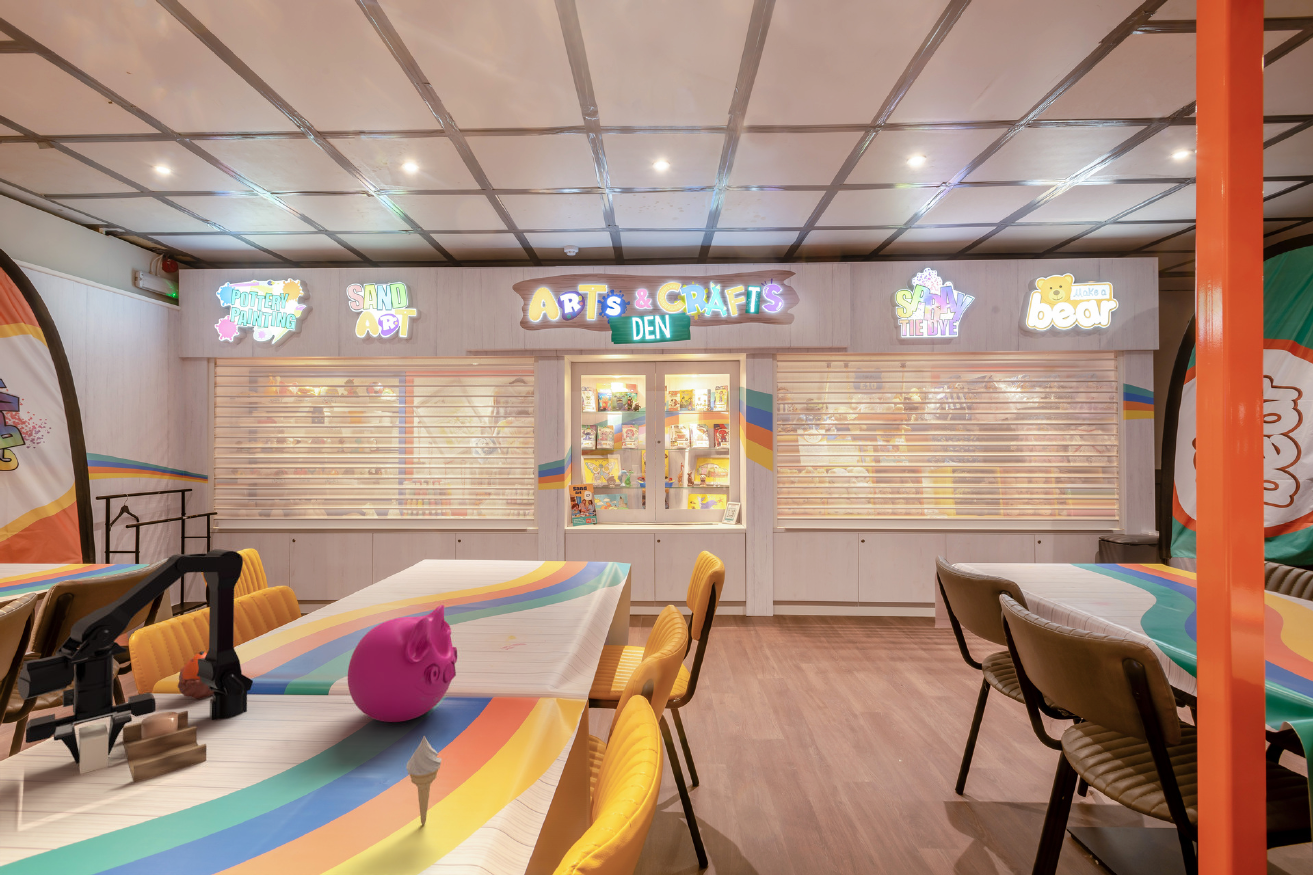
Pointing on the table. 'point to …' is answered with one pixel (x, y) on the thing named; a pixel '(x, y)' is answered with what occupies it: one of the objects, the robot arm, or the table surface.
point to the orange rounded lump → (193, 680)
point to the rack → (162, 750)
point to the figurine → (403, 667)
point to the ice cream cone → (423, 773)
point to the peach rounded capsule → (159, 725)
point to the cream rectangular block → (93, 747)
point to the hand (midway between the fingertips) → (93, 758)
